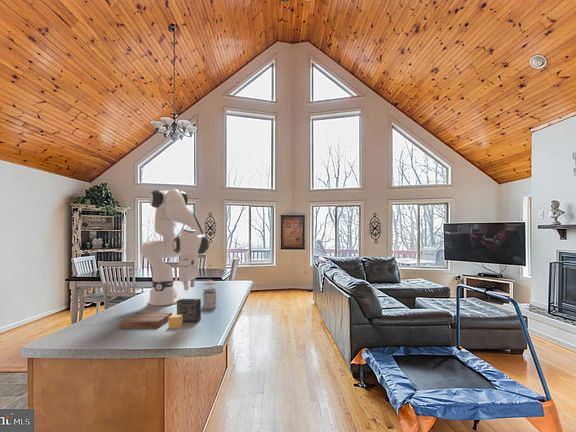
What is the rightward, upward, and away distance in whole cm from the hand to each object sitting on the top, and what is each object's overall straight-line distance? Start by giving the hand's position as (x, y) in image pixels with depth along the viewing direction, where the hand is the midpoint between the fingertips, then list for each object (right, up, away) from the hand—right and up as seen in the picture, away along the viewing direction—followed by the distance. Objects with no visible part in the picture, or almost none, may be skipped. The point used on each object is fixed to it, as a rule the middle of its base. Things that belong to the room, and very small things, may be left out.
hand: (189, 288), depth 177 cm
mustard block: (-3, -16, -11) cm, 20 cm away
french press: (+4, -17, +31) cm, 36 cm away
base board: (-19, -16, -5) cm, 25 cm away
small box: (0, -16, 0) cm, 16 cm away
